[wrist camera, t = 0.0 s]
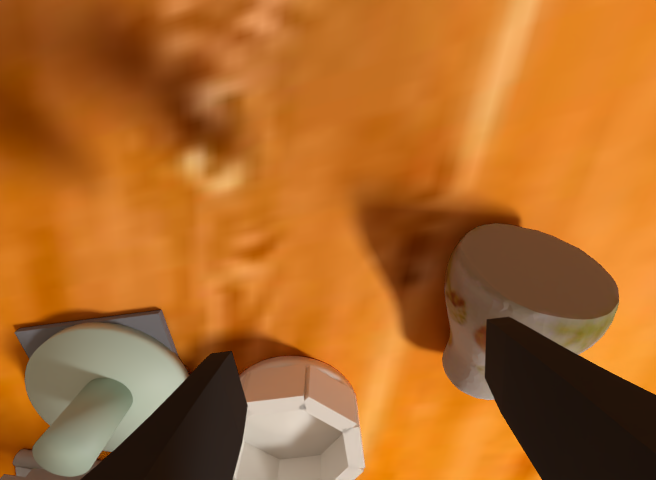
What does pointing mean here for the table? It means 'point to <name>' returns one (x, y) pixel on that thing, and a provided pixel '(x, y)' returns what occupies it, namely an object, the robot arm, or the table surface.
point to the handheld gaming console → (36, 469)
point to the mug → (520, 296)
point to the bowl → (299, 422)
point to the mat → (143, 321)
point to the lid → (96, 391)
